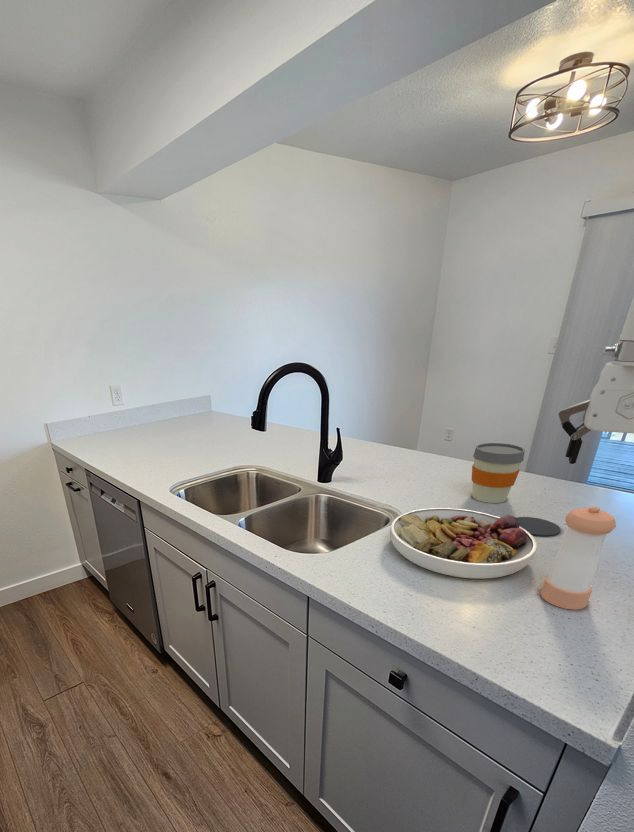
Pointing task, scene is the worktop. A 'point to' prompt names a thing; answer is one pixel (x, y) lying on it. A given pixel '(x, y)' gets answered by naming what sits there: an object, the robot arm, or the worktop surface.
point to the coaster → (538, 526)
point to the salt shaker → (577, 558)
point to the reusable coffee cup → (495, 471)
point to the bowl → (463, 542)
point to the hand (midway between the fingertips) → (607, 464)
